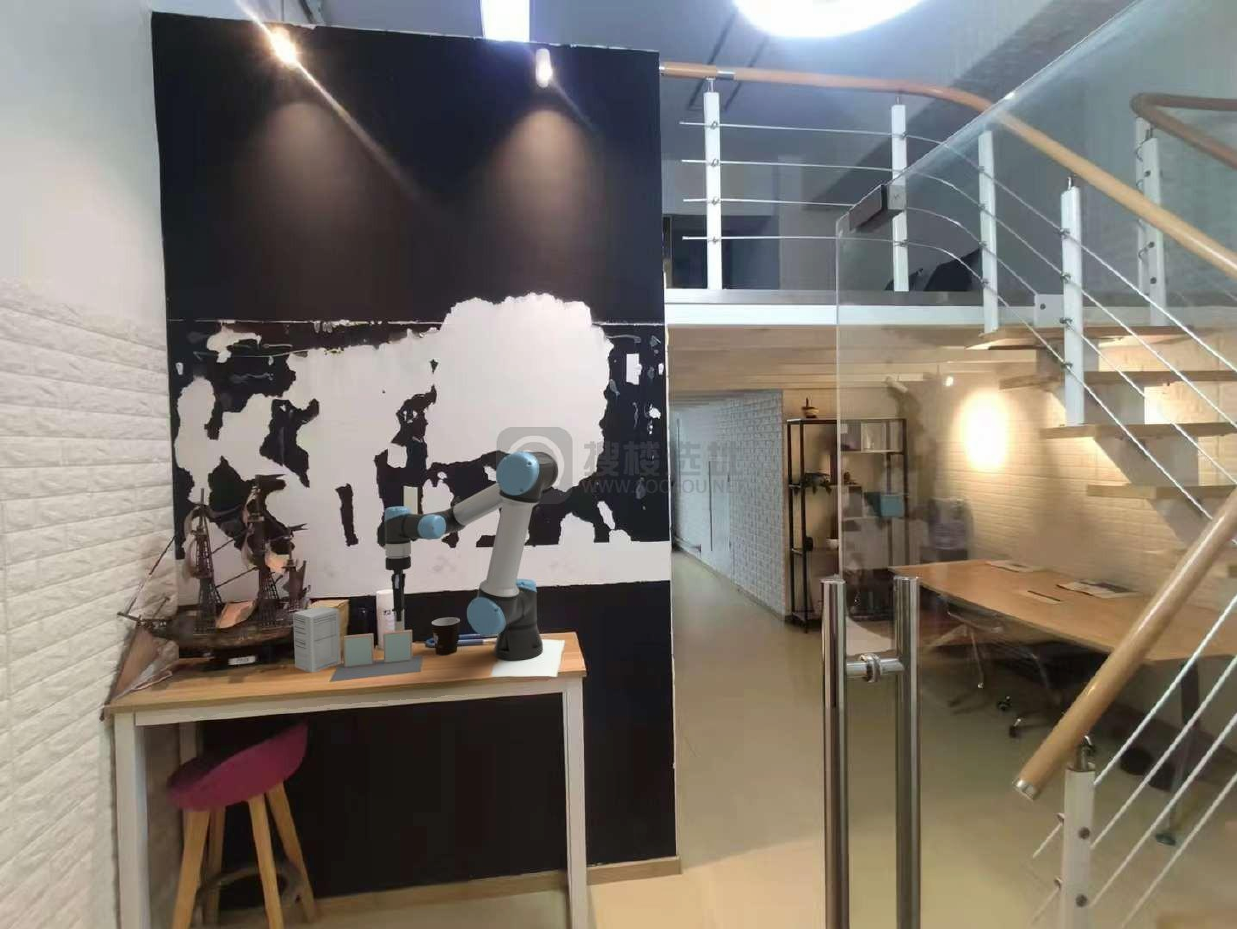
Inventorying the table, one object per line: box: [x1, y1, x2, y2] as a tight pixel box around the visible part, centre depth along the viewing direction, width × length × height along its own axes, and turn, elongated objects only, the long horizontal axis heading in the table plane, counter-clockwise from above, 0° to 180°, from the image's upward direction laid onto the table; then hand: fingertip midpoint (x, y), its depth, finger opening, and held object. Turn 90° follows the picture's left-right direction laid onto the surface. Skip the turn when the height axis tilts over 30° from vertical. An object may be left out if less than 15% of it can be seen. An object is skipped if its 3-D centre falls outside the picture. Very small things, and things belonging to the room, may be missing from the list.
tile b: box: [343, 632, 375, 668], centre depth 175 cm, size 8×2×9 cm, turn 105°
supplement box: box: [292, 605, 342, 674], centre depth 175 cm, size 10×9×17 cm
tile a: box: [382, 629, 414, 663], centre depth 178 cm, size 8×2×9 cm, turn 105°
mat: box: [329, 654, 424, 682], centre depth 173 cm, size 24×14×1 cm, turn 105°
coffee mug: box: [431, 616, 461, 656], centre depth 184 cm, size 12×9×10 cm
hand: (399, 630), depth 184 cm, fingers closed
